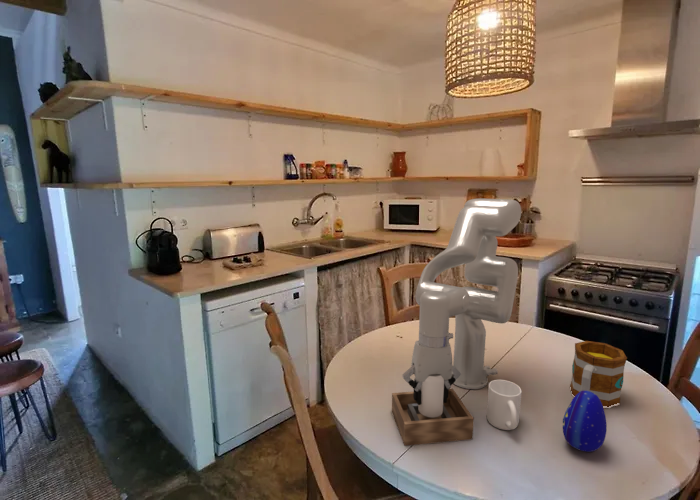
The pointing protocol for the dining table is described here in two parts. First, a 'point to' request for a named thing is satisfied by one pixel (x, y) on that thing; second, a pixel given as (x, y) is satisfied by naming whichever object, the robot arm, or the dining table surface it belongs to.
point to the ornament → (585, 422)
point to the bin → (431, 420)
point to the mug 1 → (503, 404)
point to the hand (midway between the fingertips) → (430, 400)
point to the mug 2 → (598, 371)
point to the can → (432, 396)
